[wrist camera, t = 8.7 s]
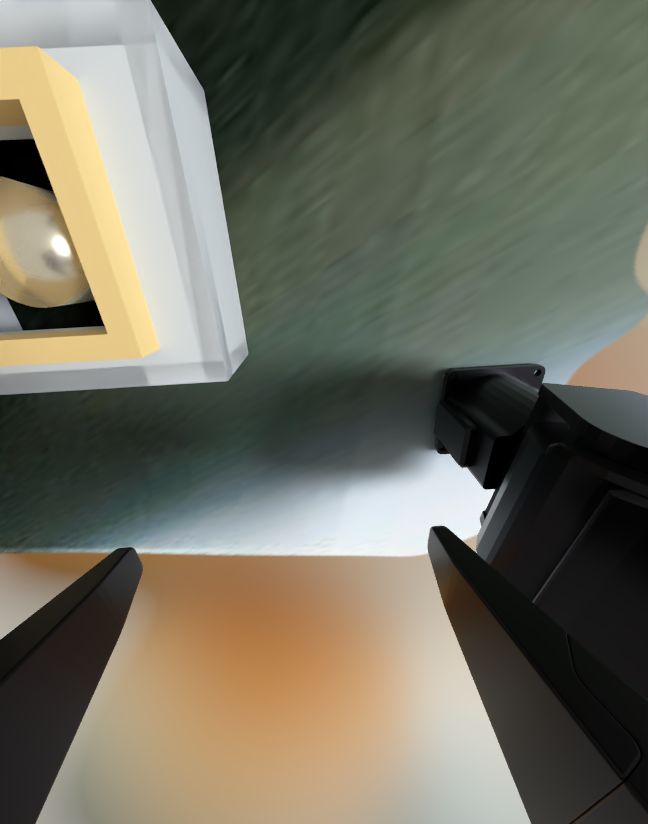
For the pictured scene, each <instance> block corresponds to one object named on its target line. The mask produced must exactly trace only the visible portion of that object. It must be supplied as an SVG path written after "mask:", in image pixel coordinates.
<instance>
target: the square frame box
mask: <svg viewBox="0 0 648 824" xmlns="http://www.w3.org/2000/svg"><path fill="white" fill-rule="evenodd" d="M17 139H34V140H35V143H36V145H37V148H38V151H39V153H40V156H41V158H42V161H43V164H44V166H45V169H46V172H47V174H48V177H49V180H50V182H51V185H52V188H53V190H54V193H55V196H56V198H57V201H58V203H59V206H60V209H61V211H62V214H63V217H64V219H65V222H66V225H67V227H68V230H69V233H70V235H71V238H72V241H73V243H74V246H75V249H76V251H77V254H78V256H79V259H80V262H81V264H82V267H83V270H84V272H85V275H86V278H87V280H88V283H89V286H90V288H91V291H92V294H93V296H94V299H95V301H96V304H97V307H98V309H99V312H100V315H101V317H102V320H103V323H104V325H105V326H95V327H78V328H60V329H43V330H26V331H23V329H22V327H21V325H20V323H19V322H18V320H17V318H16V316H15V314H14V312H13V310H12V308H11V306H10V304H9V302H8V300H7V298H6V296H4V295H3V294H1V293H0V395H7V394H23V393H40V392H56V391H73V390H89V389H105V388H122V387H138V386H155V385H171V384H188V383H204V382H220V381H228V380H229V379H230V378H231V376H232V375H233V374H234V372H235V371H236V370H237V368H238V367H239V366H240V364H241V363H242V362H243V361H244V359H245V358H246V357H247V355H248V348H247V342H246V336H245V330H244V325H243V319H242V313H241V307H240V301H239V295H238V289H237V283H236V277H235V271H234V265H233V260H232V254H231V248H230V242H229V236H228V230H227V224H226V218H225V212H224V206H223V200H222V195H221V189H220V183H219V177H218V171H217V165H216V159H215V153H214V147H213V141H212V135H211V129H210V124H209V118H208V112H207V106H206V100H205V94H204V90H203V88H202V87H201V85H200V83H199V81H198V80H197V78H196V76H195V75H194V73H193V71H192V70H191V68H190V66H189V65H188V63H187V61H186V60H185V58H184V56H183V54H182V53H181V51H180V49H179V48H178V46H177V44H176V43H175V41H174V39H173V38H172V36H171V34H170V33H169V31H168V29H167V27H166V26H165V24H164V22H163V21H162V19H161V17H160V16H159V14H158V12H157V11H156V9H155V7H154V6H153V4H152V2H151V0H0V140H17Z"/></svg>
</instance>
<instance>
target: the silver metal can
mask: <svg viewBox="0 0 648 824" xmlns="http://www.w3.org/2000/svg"><path fill="white" fill-rule="evenodd" d="M0 293H1V294H3V295H4V296H6V297H8V298H10V299H12V300H14V301H16V302H18V303H21V304H24V305H28V306H32V307H39V308H49V307H56V306H63V305H69V304H76V303H83V302H90V301H95V299H94V296H93V294H92V291H91V288H90V286H89V283H88V280H87V278H86V275H85V272H84V270H83V267H82V264H81V262H80V259H79V256H78V254H77V251H76V249H75V246H74V243H73V241H72V238H71V235H70V233H69V230H68V227H67V225H66V222H65V219H64V217H63V214H62V211H61V209H60V206H59V203H58V201H57V198H56V196H55V193H54V192H52V191H49V190H46V189H42V188H39V187H35V186H32V185H29V184H25V183H22V182H19V181H15V180H12V179H9V178H5V177H1V176H0Z"/></svg>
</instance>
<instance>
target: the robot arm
mask: <svg viewBox="0 0 648 824" xmlns="http://www.w3.org/2000/svg"><path fill="white" fill-rule="evenodd" d="M536 370H537V372H536V373H535V374H534V372H535V371H536ZM455 374H456V377H455V378H454V379H452V380H451V377H452V376H453V375H455ZM544 374H545V368H544V367H543V366H541V365H539V364H525V365H509V366H492V367H476V368H460V369H451V370H449V371H447V373H446V374H445V377H444V384H443V391H442V398H441V400H440V401H439V402H438V407H437V414H436V421H435V429H434V433H435V435H436V440H435V449H436V450H437V452H438V453H439V454H451V456H452V457H453V458H454V460H455V461H456V462H457V463H458V465H460V466H461V467H462V468H464V467H467V468H468V469H469V471H470V472H471V473H472V474H473V476H474V477H475V478H476V479H477V481H478V482H479V483H480V484H481V486H482V487H483V488H484V489H495V491H494V493H493V496H492V498H491V500H490V502H489V504H488V506H487V508H486V510H485V511H483V512H482V514H481V517H480V522H481V526H482V527H481V529H480V531H479V533H478V536H477V545H476V550H477V553H478V554H477V553H476V552H474V551H473V550H472V549H471V548H470V547H469V546H467V545H466V544H465V543H464V542H463V541H462V540H461V539H459V538H458V537H457V536H456V535H455V534H454V533H453V532H451V531H450V530H449V529H448V528H447V527H445V526H433V527H431V528H430V533H429V539H428V553H429V556H430V560H431V563H432V566H433V570H434V573H435V577H436V580H437V584H438V587H439V590H440V594H441V597H442V600H443V604H444V607H445V609H446V612H447V615H448V617H449V620H450V622H451V625H452V627H453V630H454V632H455V635H456V637H457V640H458V642H459V645H460V647H461V650H462V652H463V655H464V657H465V660H466V662H467V665H468V667H469V670H470V672H471V675H472V677H473V680H474V682H475V684H476V687H477V690H478V692H479V695H480V697H481V700H482V702H483V705H484V707H485V709H486V712H487V714H488V717H489V719H490V722H491V725H492V727H493V729H494V732H495V734H496V737H497V739H498V742H499V744H500V747H501V749H502V752H503V754H504V757H505V759H506V762H507V764H508V767H509V769H510V772H511V774H512V777H513V779H514V782H515V784H516V787H517V789H518V792H519V794H520V797H521V799H522V802H523V804H524V807H525V809H526V812H527V814H528V817H529V819H530V821H531V824H648V396H647V395H643V394H640V393H637V392H633V391H627V390H616V389H605V388H594V387H583V386H571V385H560V384H549V383H542V381H543V378H544ZM541 384H542V385H541ZM442 446H444V447H443V448H441V447H442ZM142 571H143V565H142V563H141V561H140V559H139V557H138V555H137V553H136V551H135V549H134V548H132V547H127V548H119V549H117V550H115V551H114V552H112V553H111V554H110V555H108V556H107V557H106V558H105V559H103V560H102V561H101V562H100V563H98V564H97V565H96V566H94V567H93V568H92V569H91V570H89V571H88V572H87V573H85V574H84V575H83V576H82V577H80V578H79V579H78V580H76V581H75V582H74V583H73V584H71V585H70V586H69V587H67V588H66V589H65V590H64V591H62V592H61V593H60V594H59V595H57V596H56V597H55V598H53V599H52V600H51V601H50V602H48V603H47V604H46V605H44V606H43V607H42V608H41V609H40V610H38V611H37V612H36V613H34V614H33V615H32V616H31V617H29V618H28V619H27V620H25V621H24V622H23V623H22V624H20V625H19V626H18V627H16V628H15V629H14V630H12V631H11V632H10V633H9V634H7V635H6V636H5V637H4V638H2V639H1V640H0V824H35V823H36V821H37V819H38V817H39V814H40V812H41V810H42V808H43V805H44V803H45V801H46V799H47V797H48V794H49V792H50V790H51V788H52V786H53V783H54V781H55V779H56V777H57V774H58V772H59V770H60V768H61V765H62V763H63V761H64V759H65V757H66V754H67V752H68V750H69V748H70V745H71V743H72V741H73V739H74V736H75V734H76V732H77V729H78V727H79V725H80V723H81V721H82V718H83V716H84V714H85V712H86V710H87V708H88V705H89V703H90V700H91V698H92V696H93V694H94V692H95V690H96V687H97V685H98V683H99V681H100V678H101V676H102V674H103V672H104V669H105V667H106V665H107V663H108V660H109V658H110V656H111V654H112V652H113V650H114V647H115V645H116V643H117V641H118V638H119V636H120V634H121V631H122V629H123V626H124V623H125V621H126V618H127V615H128V612H129V609H130V606H131V604H132V601H133V598H134V595H135V592H136V589H137V586H138V584H139V580H140V578H141V575H142Z"/></svg>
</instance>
